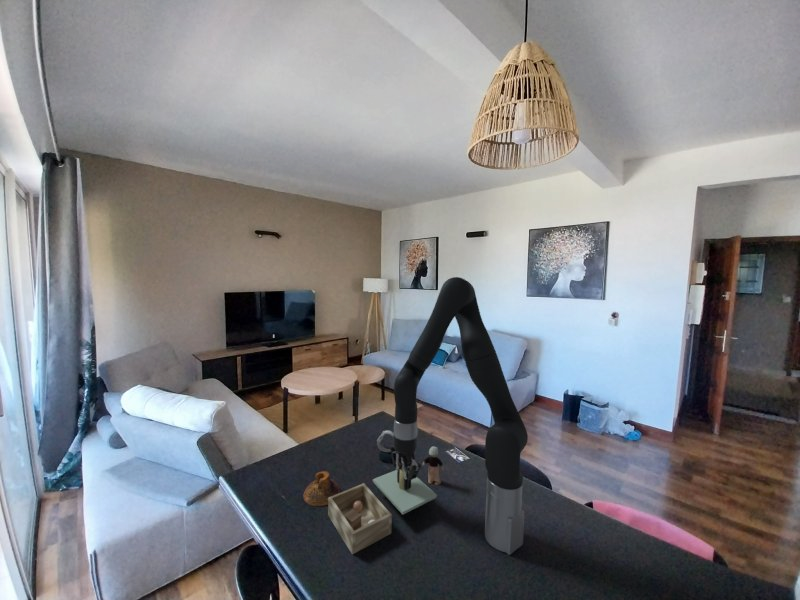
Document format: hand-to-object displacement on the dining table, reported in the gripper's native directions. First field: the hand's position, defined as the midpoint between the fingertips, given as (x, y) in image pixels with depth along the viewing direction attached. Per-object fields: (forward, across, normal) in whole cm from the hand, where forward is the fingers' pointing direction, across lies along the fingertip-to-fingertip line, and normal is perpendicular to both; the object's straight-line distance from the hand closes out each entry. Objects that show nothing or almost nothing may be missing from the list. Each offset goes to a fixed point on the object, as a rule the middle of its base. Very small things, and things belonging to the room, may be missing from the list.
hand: (403, 485), depth 98 cm
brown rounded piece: (+7, +18, +20) cm, 28 cm away
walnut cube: (+5, 0, +18) cm, 19 cm away
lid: (+1, 0, 0) cm, 1 cm away
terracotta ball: (+5, +4, +14) cm, 16 cm away
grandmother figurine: (+6, +3, -15) cm, 16 cm away
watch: (+6, +24, -9) cm, 26 cm away
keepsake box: (+6, 0, +16) cm, 17 cm away
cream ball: (+5, -5, +14) cm, 16 cm away
